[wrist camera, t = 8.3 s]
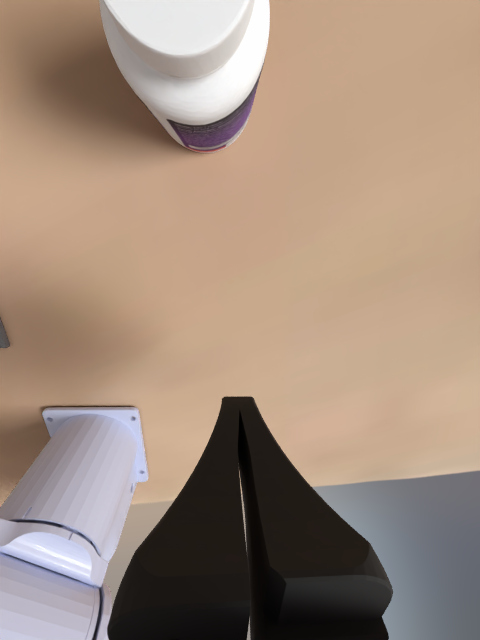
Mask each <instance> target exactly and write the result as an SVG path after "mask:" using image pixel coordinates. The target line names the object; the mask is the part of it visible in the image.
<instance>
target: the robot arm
mask: <svg viewBox="0 0 480 640" xmlns="http://www.w3.org/2000/svg"><path fill="white" fill-rule="evenodd" d="M42 415H43V418H44V421H45V424H46V427H47V429H48V432H49V435H50V438H51V439H50V440H49V441H48V443H47V444H46V446H45V447H44V448H43V450H42V451H41V452H40V454H39V455H38V456H37V458H36V459H35V461H34V462H33V463H32V465H31V466H30V467H29V469H28V470H27V471H26V473H25V474H24V476H23V477H22V478H21V480H20V481H19V482H18V484H17V485H16V486H15V488H14V489H13V491H12V492H11V493H10V495H9V496H8V497H7V499H6V500H5V501H4V503H3V504H2V506H1V507H0V640H108V638H109V640H247V632H248V624H249V617H250V633H251V634H250V635H251V640H388V639H389V636H388V632H387V629H386V627H385V624H384V622H383V619H382V615H383V614H384V612H385V610H386V608H387V607H388V605H389V603H390V601H391V598H392V594H393V590H392V586H391V584H390V581H389V579H388V577H387V574H386V572H385V570H384V568H383V566H382V564H381V563H380V561H379V559H378V557H377V555H376V553H375V552H374V550H373V548H372V546H371V544H370V543H369V542H368V541H366V539H365V538H363V537H362V536H361V535H360V534H359V533H358V532H357V531H355V530H354V529H353V528H352V527H351V526H350V525H348V523H347V522H345V521H344V520H343V519H342V518H341V517H340V516H339V515H338V514H337V513H336V512H335V511H334V510H333V509H332V508H331V507H330V506H329V505H327V503H326V502H325V501H324V500H323V499H322V498H321V497H320V496H319V495H318V494H317V493H316V491H315V490H314V489H313V488H312V487H311V486H310V485H309V484H308V483H307V482H306V480H305V479H304V478H303V477H302V476H301V474H300V473H299V472H298V471H297V469H296V468H295V467H294V466H293V464H292V463H291V462H290V460H289V459H288V458H287V456H286V455H285V454H284V452H283V451H282V449H281V448H280V446H279V445H278V443H277V442H276V440H275V439H274V437H273V435H272V434H271V432H270V430H269V429H268V427H267V425H266V424H265V422H264V420H263V418H262V416H261V414H260V412H259V410H258V408H257V406H256V403H255V401H254V398H253V397H224V398H222V404H221V409H220V413H219V416H218V419H217V422H216V425H215V427H214V430H213V433H212V435H211V437H210V439H209V442H208V444H207V446H206V448H205V450H204V452H203V454H202V456H201V458H200V460H199V462H198V464H197V466H196V467H195V469H194V471H193V473H192V474H191V476H190V478H189V479H188V481H187V482H186V484H185V486H184V487H183V489H182V490H181V492H180V493H179V495H178V496H177V498H176V499H175V501H174V502H173V504H172V505H171V506H170V508H169V509H168V511H167V512H166V513H165V515H164V516H163V517H162V519H161V520H160V522H159V523H158V524H157V525H156V526H155V528H154V529H153V530H152V531H151V533H150V534H149V535H148V536H147V538H146V539H145V540H144V541H143V543H142V544H141V545H140V546H139V547H138V549H137V550H136V551H135V553H134V555H133V557H132V559H131V562H130V564H129V566H128V568H127V570H126V572H125V575H124V577H123V579H122V581H121V584H120V587H119V589H118V592H117V595H116V598H115V601H114V605H113V609H112V597H111V591H110V589H109V587H108V586H107V585H106V584H105V583H103V580H104V576H105V573H106V570H107V567H108V564H109V563H108V562H109V561H110V559H111V558H112V556H113V554H114V552H115V550H116V548H117V545H118V542H119V539H120V536H121V532H122V529H123V526H124V523H125V519H126V516H127V513H128V510H129V507H130V504H131V500H132V497H133V494H134V491H135V488H136V484H137V482H145V481H147V480H148V476H149V475H148V468H147V461H146V455H145V448H144V441H143V435H142V428H141V421H140V415H139V410H138V409H137V408H135V407H53V408H46V409H45V410H44V411H43V412H42ZM132 416H133V417H132ZM134 417H135V418H134ZM238 463H239V464H238ZM239 471H240V478H239ZM240 479H241V486H242V494H243V501H244V510H245V522H246V542H247V551H246V542H245V532H244V522H243V513H242V501H241V490H240ZM111 609H112V610H111Z"/></svg>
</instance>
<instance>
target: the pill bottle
mask: <svg viewBox="0 0 480 640" xmlns="http://www.w3.org/2000/svg"><path fill="white" fill-rule="evenodd" d="M99 2H100V11H101V18H102V23H103V28H104V32H105V35H106V39H107V42H108V45H109V47H110V50H111V53H112V55H113V57H114V59H115V62H116V64H117V66H118V68H119V70H120V71H121V73H122V75H123V76H124V78H125V79H126V81H127V82H128V84H129V85H130V87H131V88H132V90H133V91H134V93H135V94H136V95H137V96H138V98H139V99H140V100H141V101H142V102H143V103H144V105H145V106H146V107H147V108H148V109H149V111H150V112H151V113H152V114H153V115H154V117H155V118H156V119H157V120H158V121H159V123H160V124H161V125H162V126H163V128H164V129H165V130H166V131H167V132H168V134H169V135H171V136H172V137H173V138H174V139H175V140H176V141H177V142H178V143H179V144H181V145H182V146H184V147H186V148H188V149H190V150H192V151H195V152H200V153H213V152H217V151H220V150H223V149H225V148H227V147H228V146H229V145H231V144H232V143H233V142H234V141H235V140H236V139H237V138H238V137H239V136H240V134H241V133H242V131H243V130H244V128H245V126H246V124H247V121H248V119H249V116H250V113H251V109H252V105H253V101H254V97H255V93H256V89H257V85H258V82H259V78H260V75H261V71H262V67H263V64H264V60H265V54H266V50H267V45H268V38H269V27H270V7H269V0H99Z"/></svg>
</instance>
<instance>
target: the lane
mask: <svg viewBox="0 0 480 640" xmlns="http://www.w3.org/2000/svg"><path fill="white" fill-rule="evenodd" d="M9 346H10V343H9V341H8V338H7V335H6V332H5V329H4V327H3V324H2V321H1V318H0V348H7V347H9Z"/></svg>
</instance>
